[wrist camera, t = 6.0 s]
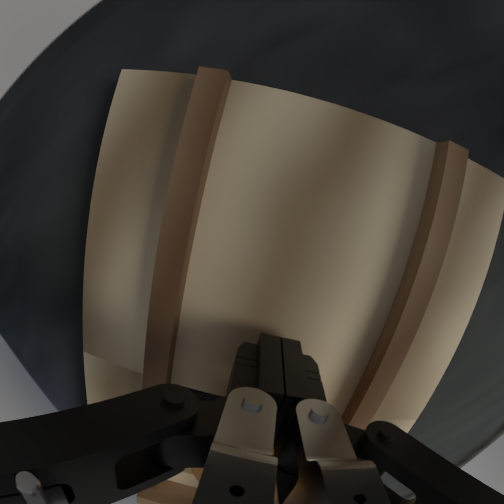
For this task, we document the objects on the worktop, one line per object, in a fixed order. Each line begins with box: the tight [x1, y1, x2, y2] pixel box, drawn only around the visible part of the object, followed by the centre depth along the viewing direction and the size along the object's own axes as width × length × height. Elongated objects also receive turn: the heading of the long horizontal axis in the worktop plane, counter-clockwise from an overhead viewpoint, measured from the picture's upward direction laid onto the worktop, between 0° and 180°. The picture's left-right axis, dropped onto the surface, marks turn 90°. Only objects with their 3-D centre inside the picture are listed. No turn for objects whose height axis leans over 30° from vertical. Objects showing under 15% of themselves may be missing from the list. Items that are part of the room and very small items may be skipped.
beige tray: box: [83, 66, 504, 504], centre depth 12 cm, size 17×22×4 cm
